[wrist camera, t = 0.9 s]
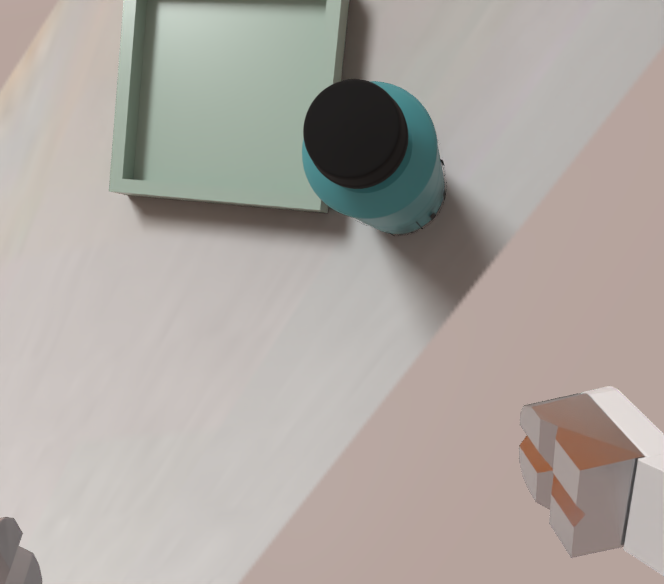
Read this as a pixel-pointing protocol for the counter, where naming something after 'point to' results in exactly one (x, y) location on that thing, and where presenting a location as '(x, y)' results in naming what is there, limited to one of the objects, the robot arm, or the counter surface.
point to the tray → (222, 98)
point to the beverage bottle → (373, 155)
